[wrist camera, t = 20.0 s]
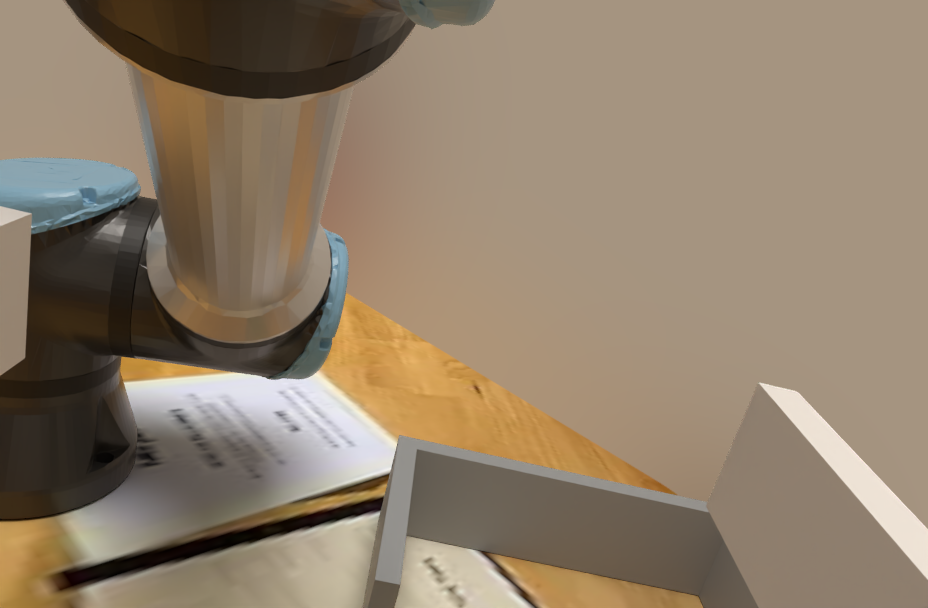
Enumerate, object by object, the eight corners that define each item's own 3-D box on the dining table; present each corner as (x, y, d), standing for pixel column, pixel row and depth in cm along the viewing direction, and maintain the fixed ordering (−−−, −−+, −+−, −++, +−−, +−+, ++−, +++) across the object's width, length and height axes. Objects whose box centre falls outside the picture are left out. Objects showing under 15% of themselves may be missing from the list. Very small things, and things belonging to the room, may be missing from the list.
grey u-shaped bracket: (790, 765, 47) (841, 673, 44) (349, 682, 45) (375, 579, 42) (710, 586, 63) (744, 510, 60) (379, 517, 60) (399, 435, 58)
